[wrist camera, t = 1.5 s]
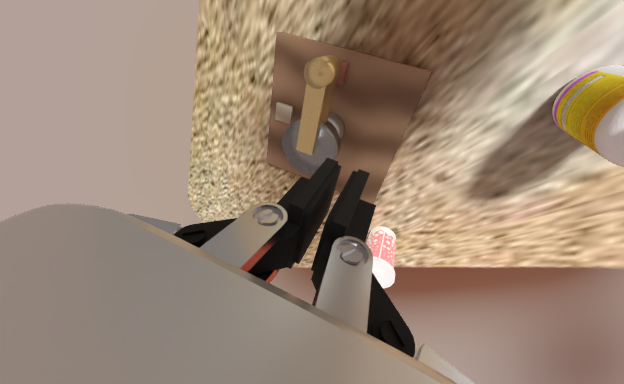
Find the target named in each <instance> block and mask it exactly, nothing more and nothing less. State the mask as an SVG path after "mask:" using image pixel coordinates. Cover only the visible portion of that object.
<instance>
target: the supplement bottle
mask: <svg viewBox="0 0 624 384" xmlns="http://www.w3.org/2000/svg"><path fill="white" fill-rule="evenodd" d="M552 116H553V119H554V122H555V123H556V125H557V126H558V127H559V128H561V129H562V130H563V131H565V132H566V133H568V134H569V135H571V136H572V137H574V138H575V139H577V140H578V141H580V142H581V143H583V144H584V145H586V146H587V147H589V148H590V149H592V150H593V151H595V152H596V153H598V154H599V155H601V156H602V157H604V158H605V159H607V160H608V161H610V162H612V163H614V164H616V165H619V166H622V167H624V65H612V66H605V67H601V68H597V69H594V70H591V71H589V72H587V73H585V74H583V75H581V76H579V77H577V78H576V79H574V80H573V81H572V82H570V83H569V84H568V85H567V86H566V87H565V88H564V89H563V90H562V91H561V92H560V93H559V95H558V96H557V98H556V100H555V102H554V104H553V109H552Z"/></svg>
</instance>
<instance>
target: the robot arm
mask: <svg viewBox="0 0 624 384" xmlns="http://www.w3.org/2000/svg"><path fill="white" fill-rule="evenodd" d="M341 167H342V166H340V165H338V161H335V160H333V159H330V158H326V160H325V161H324V162H323V163H322V165H321V166H320V167H319V168H318V169H317V171H316V172H315V173H314V174H313V175H312V177H311V178H310V179H308V178H305V177H301V178H300V179H299V180H298V181H297V182H296V183H295V184H294V185H293V187H292V188H291V189H290V190H289V191H288V192H287V193H286V194H285V195H284V197H283V198H282V199H281V200H280V201H279V202H278V203H277V204H275V203H270V202H263V203H259V204H257V205H255V206H253V207H252V208H250V209H249V210H248V211H247V212H245V213H244V214H243V215H241V216H240V217H239V218H235V219H228V220H221V221H214V222H206V223H200V224H193V225H189V226H186V227H184V228H182V227H181V224H177V223H173V222H168V221H163V220H158V219H154V218H149V217H144V216H139V215H134V214H124V213H121V212H118V211H115V210H111V209H107V208H102V207H98V206H92V205H83V204H53V205H46V206H42V207H39V208H35V209H32V210H30V211H27V212H24V213H21V214H18V215H15V216H13V217H10V218H8V219H5V220H3V221H0V384H475V383H474V382H472V381H471V380H470V379H468V378H467V377H466V376H465V375H463V374H462V373H461V372H460V371H458V370H457V369H456V368H454V367H453V366H452V365H451V364H449V363H448V362H447V361H446V360H444V359H443V358H442V357H440V356H439V355H438V354H436V353H435V352H434V351H433V350H431V349H430V348H429V347H428V346H426V345H425V344H423V345H422V346H421V345H420V344H418V343H417V342H416V341H415V340H414V338H413V335H412V334H411V332H410V330H409V328H408V326H407V325H406V323H405V322H404V320H403V319H402V317H401V316H400V314H399V312H398V311H397V310H396V308H395V306H394V305H393V303H392V302H391V300H390V299H389V297H388V296H387V294H386V293H385V291H384V289H383V288H382V286H381V285H380V283H379V282H378V280H377V279H376V277H375V276H374V274H373V273H372V267H373V254H372V252H371V249H370V248H369V247H368V245H367V244H366V243H365V240H366V237H367V233H368V230H369V227H370V223H371V220H372V217H373V213H374V210H375V207H376V205H374V204H372V203H369V202H366V201H364V200H361V199H360V198H361V195H362V192H363V190H364V187H365V185H366V182H367V180H368V177H369V175H370V173H368V172H366V171H363V170H360V169H359V170H358V172H357V171H354V170H353V172H352V174H351V175H350V177H349V179H348V181H347V183H346V185H345V186H344V188H343V190H342V192H341V194H340V195H339V197H338V199H337V201H336V203H335V204H334V206H333V208H332V210H331V212H330V214H329V216H328V218H327V220H326V223H325V226H324V229H323V232H322V235H321V239H320V242H319V245H318V249H317V252H316V255H315V258H314V262H313V265H312V268H311V270H313V271H314V272H313V275H312V279H311V280H312V282H313V284H314V286H315V289H316V293H315V296H314V299H313V303H312V305H311V304H309V303H307V302H305V301H303V300H301V299H299V298H297V297H295V296H293V295H291V294H289V293H287V292H285V291H283V290H281V289H279V288H277V287H275V286H273V285H271V284H269V283H270V282H271V281H272V280H273V278H274V277H275V276H276V274H277V273H278V271H279V269H282V268H286V267H288V268H292V266H293V264H294V263H298V264H299V262H300V261H301V259H302V257H303V255H304V254H305V252H306V250H307V248H308V247H309V245H310V243H311V241H312V240H313V238H314V236H315V234H316V232H317V231H318V229H319V227H320V225H321V224H322V222H323V220H324V218H325V217H326V215H327V213H328V210H329V207H330V204H331V200H332V197H333V194H334V190H335V187H336V184H337V180H338V177H339V174H340V171H341Z"/></svg>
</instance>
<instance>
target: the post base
mask: <svg viewBox="0 0 624 384" xmlns="http://www.w3.org/2000/svg"><path fill="white" fill-rule="evenodd" d="M328 55H333V56H336V57H337V58H338V59H339V60H340V62H341V64H342V73H341V76H340V78H339V79H338V80H337V81H336V85H335V89H334V94H333V98H332V103H331V107H330V111H329V116H328V121H330V122H331V123H332V124H333V125H334V127H335V128H336V130H337V131H338V134H339V136H340V141H341V148H340V152H339V155H338V156H337V158H336V159H335V161H338V165H340V166H342V167H341V171H340V174H339V177H338V180H337V184H336V187H335V190H338V191H340V192H342V190H343V188H344V186H345V185H346V183H347V181H348V179H349V177H350V175H351V174H352V172H353V170H354V171H357V172H358V170H359V169H360V170H363V171H366V172H368V173H370V175H369V177H368V180H367V182H366V185H365V187H364V190H363V192H362V195H361V198H360V199H361V200H364V201H366V202H369V203H372V204H373V203H374V200H375V198H376V196H377V194H378V191H379V189H380V187H381V185H382V182H383V180H384V178H385V176H386V173H387V171H388V169H389V167H390V164H391V162H392V160H393V158H394V155H395V153H396V151H397V149H398V146H399V144H400V142H401V140H402V137H403V135H404V133H405V131H406V128H407V126H408V124H409V122H410V119H411V117H412V115H413V113H414V110H415V108H416V106H417V104H418V101H419V99H420V97H421V95H422V92H423V90H424V88H425V86H426V83H427V81H428V79H429V77H430V74H431V70H427V69H423V68H419V67H415V66H411V65H408V64H404V63H400V62H396V61H392V60H388V59H384V58H381V57H377V56H373V55H369V54H365V53H361V52H357V51H354V50H350V49H346V48H342V47H338V46H334V45H330V44H326V43H323V42H319V41H315V40H311V39H307V38H303V37H299V36H296V35H292V34H288V33H284V32H277V36H276V49H275V62H274V75H273V88H272V101H271V113H270V126H269V139H268V152H267V163H269V164H271V165H274V166H276V167H279V168H281V169H284V170H287V171H289V172H292V173H294V174H297V175H299V176H302V177H305V178H308V179H310V178H311V177H312V175H309V174H305V173H302V172H300V171H298V170H297V169H295V168H294V167H293V166H292V165H291V164H290V163H289V162H288V160H287V159H286V157H285V155H284V152H283V148H282V139H283V135H284V132H285V131H286V129H287V128H288V127H289V126H290V125H291V124H293V123H294V122H296V121H297V120H299V119H300V118H301V115H302V109H303V103H304V96H305V90H306V84H307V82H306V80H305V78H304V68H305V65H306V64H307V62H308V61H309V60H311V59H313V58H317V57H322V56H328Z"/></svg>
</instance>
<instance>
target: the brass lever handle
mask: <svg viewBox="0 0 624 384" xmlns="http://www.w3.org/2000/svg"><path fill="white" fill-rule="evenodd" d="M341 73H342V64H341V62H340V60H339V59H338V58H337V57H336V56H333V55H328V56H322V57H317V58H313V59H311V60H309V61H308V62H307V64H306V65H305V68H304V78H305V80H306V82H307V84H306V90H305V96H304V103H303V109H302V115H301V118H300V119H299V120H297V121H296V122H294V123H293V124H291V125H290V126H289V127H288V128H287V129H286V131H285V132H284V135H283V139H282V148H283V152H284V155H285V157H286V159H287V160H288V162H289V163H290V164H291V165H292V166H293V167H294V168H295V169H297V170H298V171H300V172H302V173H305V174H309V175H313V174H314V173H315V172H316V171H317V169H318V168H319V167H320V166H321V165H322V163H323V162H324V161H325V160H326V158H330V159H333V160H335V159H336V158H337V156H338V155H339V152H340V148H341V141H340V136H339V134H338V131H337V130H336V128H335V127H334V125H333V124H332V123H331V122H330V121H328V116H329V111H330V107H331V103H332V98H333V94H334V89H335V85H336V81H337V80H338V79H339V78H340V76H341Z"/></svg>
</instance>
